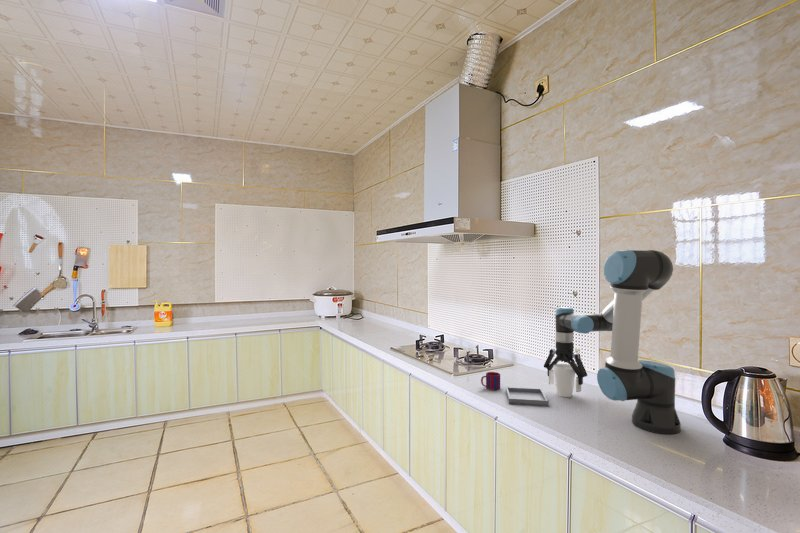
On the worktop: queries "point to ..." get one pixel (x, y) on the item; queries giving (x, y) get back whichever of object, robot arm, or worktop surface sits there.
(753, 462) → the worktop surface
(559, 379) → the foam cup
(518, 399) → the tray
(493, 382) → the cup
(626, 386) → the robot arm
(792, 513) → the worktop surface
